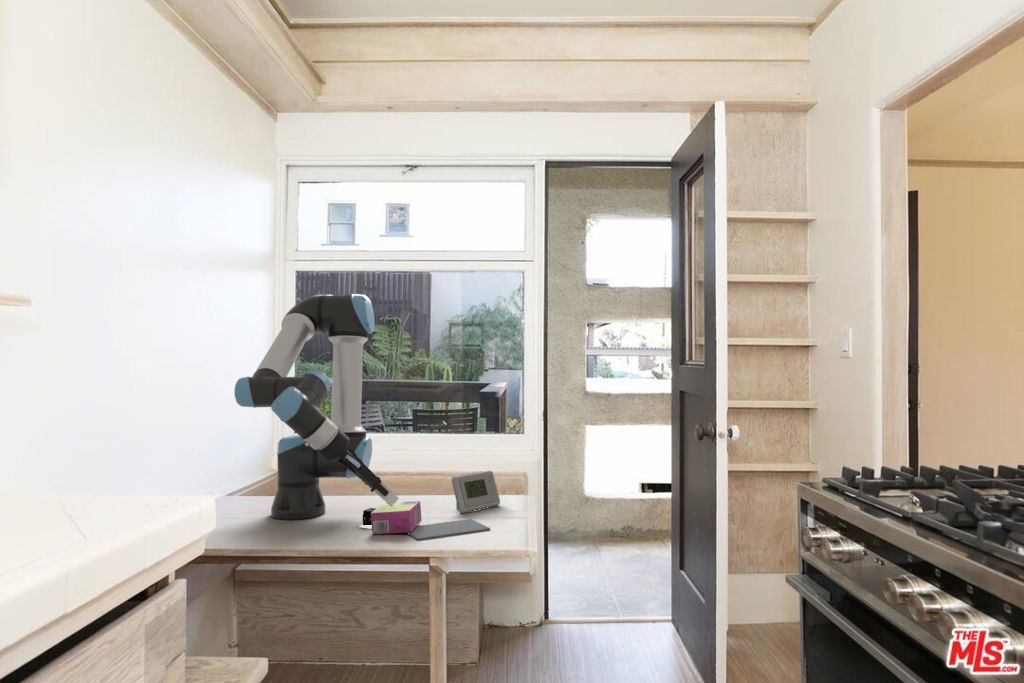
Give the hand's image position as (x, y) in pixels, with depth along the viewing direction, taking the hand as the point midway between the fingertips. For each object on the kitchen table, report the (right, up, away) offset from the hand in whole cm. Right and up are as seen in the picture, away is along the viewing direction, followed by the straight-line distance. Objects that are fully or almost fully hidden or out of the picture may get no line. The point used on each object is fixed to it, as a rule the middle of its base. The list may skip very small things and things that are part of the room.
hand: (394, 501), depth 168 cm
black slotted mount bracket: (-9, -10, +13) cm, 19 cm away
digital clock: (+19, -10, +31) cm, 38 cm away
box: (-1, -6, +2) cm, 6 cm away
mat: (+12, -9, +6) cm, 17 cm away
